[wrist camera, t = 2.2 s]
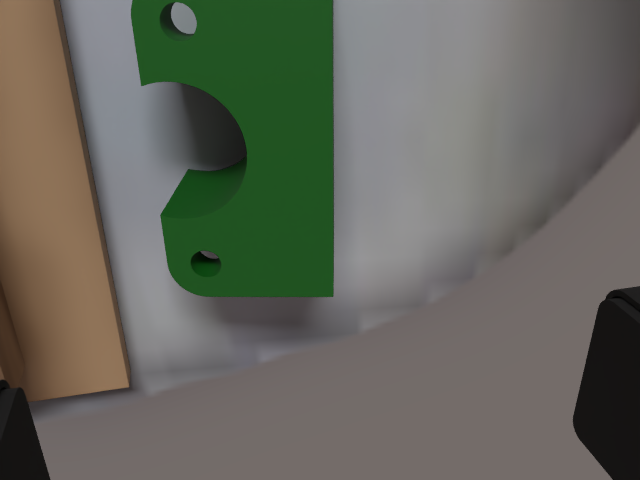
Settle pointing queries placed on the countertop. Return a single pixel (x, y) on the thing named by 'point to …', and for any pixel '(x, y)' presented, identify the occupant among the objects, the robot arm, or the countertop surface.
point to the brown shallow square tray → (50, 221)
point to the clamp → (252, 144)
